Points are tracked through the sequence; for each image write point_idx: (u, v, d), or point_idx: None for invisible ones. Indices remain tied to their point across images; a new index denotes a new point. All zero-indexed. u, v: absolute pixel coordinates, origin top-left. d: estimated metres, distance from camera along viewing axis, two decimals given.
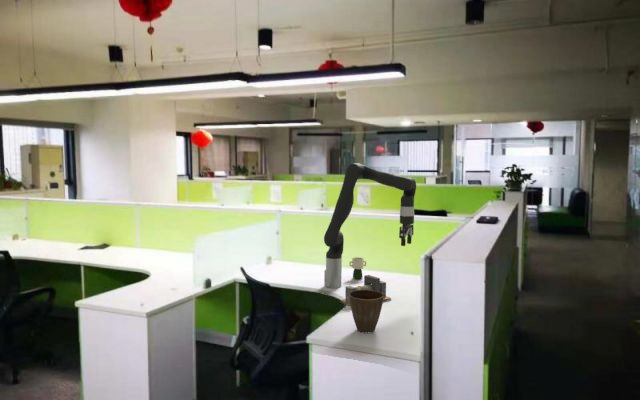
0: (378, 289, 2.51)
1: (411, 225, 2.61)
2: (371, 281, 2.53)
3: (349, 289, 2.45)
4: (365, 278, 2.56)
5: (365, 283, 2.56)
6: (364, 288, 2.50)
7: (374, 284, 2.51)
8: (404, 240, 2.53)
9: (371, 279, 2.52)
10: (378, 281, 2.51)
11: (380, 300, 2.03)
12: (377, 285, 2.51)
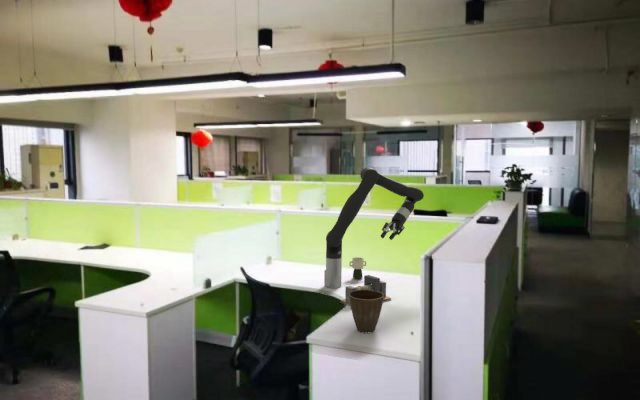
0: (378, 289, 2.51)
1: (388, 224, 2.81)
2: (371, 281, 2.53)
3: (349, 289, 2.45)
4: (365, 278, 2.56)
5: (365, 283, 2.56)
6: (364, 288, 2.50)
7: (374, 284, 2.51)
8: None
9: (371, 279, 2.52)
10: (378, 281, 2.51)
11: (380, 300, 2.03)
12: (377, 285, 2.51)
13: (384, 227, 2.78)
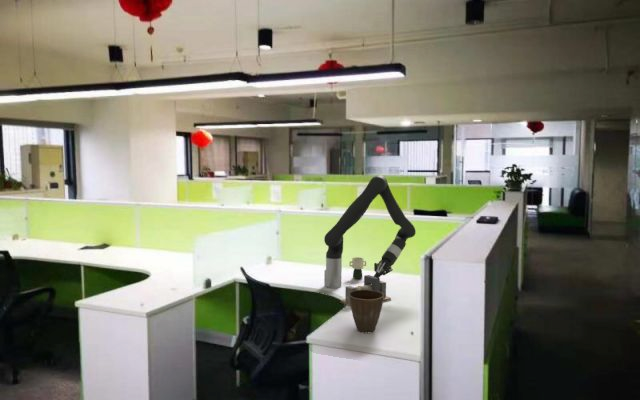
0: (378, 289, 2.51)
1: None
2: (371, 281, 2.53)
3: (349, 289, 2.45)
4: (365, 278, 2.56)
5: (365, 283, 2.56)
6: (364, 288, 2.50)
7: (374, 284, 2.51)
8: None
9: (371, 279, 2.52)
10: (378, 281, 2.51)
11: (380, 300, 2.03)
12: (377, 285, 2.51)
13: (376, 267, 2.60)
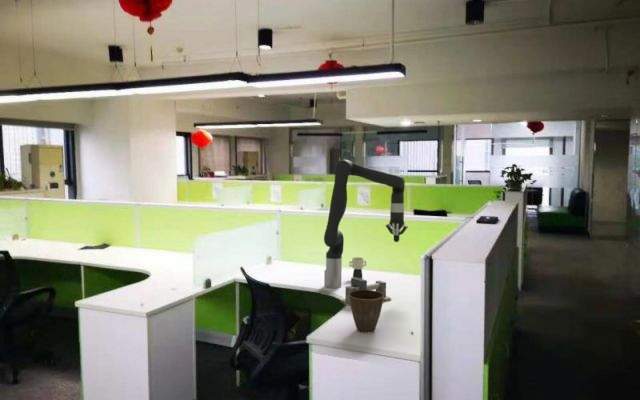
0: None
1: None
2: (358, 284, 2.47)
3: (349, 289, 2.45)
4: (352, 280, 2.51)
5: (352, 285, 2.51)
6: None
7: (361, 286, 2.45)
8: None
9: (358, 281, 2.47)
10: (365, 283, 2.46)
11: (380, 300, 2.03)
12: (364, 287, 2.46)
13: (391, 230, 2.69)
